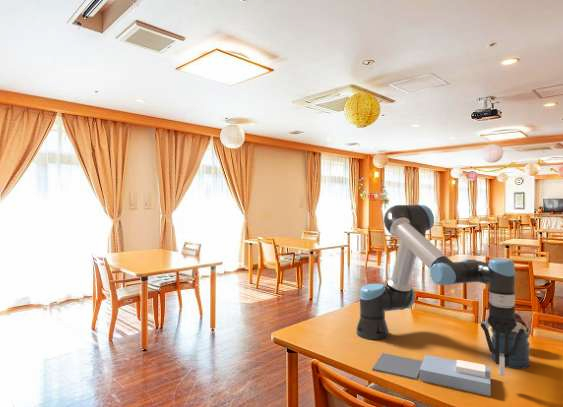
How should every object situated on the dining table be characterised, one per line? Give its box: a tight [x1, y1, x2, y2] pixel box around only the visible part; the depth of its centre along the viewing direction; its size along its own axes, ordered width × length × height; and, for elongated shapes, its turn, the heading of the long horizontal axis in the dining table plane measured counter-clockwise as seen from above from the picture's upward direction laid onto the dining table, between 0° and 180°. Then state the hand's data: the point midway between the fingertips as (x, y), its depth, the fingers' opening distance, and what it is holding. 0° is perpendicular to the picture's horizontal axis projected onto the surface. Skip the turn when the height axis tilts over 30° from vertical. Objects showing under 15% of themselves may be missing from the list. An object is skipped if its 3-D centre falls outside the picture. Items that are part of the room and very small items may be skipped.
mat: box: [371, 352, 423, 380], centre depth 141 cm, size 16×16×1 cm
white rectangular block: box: [456, 359, 486, 378], centre depth 128 cm, size 9×6×2 cm, turn 61°
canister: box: [490, 322, 531, 369], centre depth 144 cm, size 13×13×18 cm
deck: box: [418, 354, 492, 397], centre depth 130 cm, size 22×14×4 cm, turn 61°
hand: (501, 374), depth 123 cm, fingers closed
